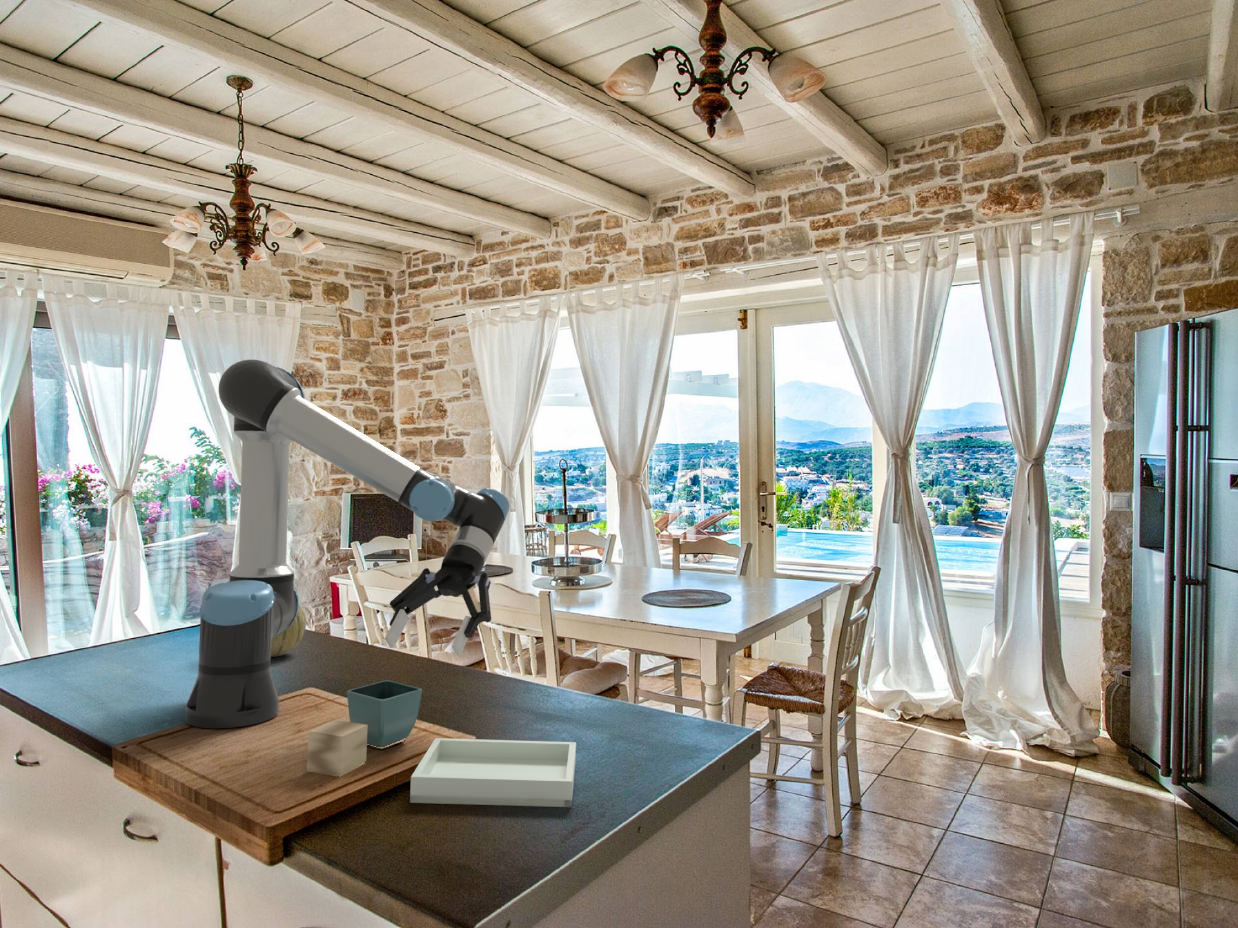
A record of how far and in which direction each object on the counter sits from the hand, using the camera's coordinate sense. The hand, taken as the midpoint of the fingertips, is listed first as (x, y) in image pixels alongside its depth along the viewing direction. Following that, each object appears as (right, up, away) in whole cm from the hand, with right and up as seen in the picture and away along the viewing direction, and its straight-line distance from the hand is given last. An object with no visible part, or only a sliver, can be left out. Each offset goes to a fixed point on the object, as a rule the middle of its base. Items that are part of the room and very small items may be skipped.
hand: (421, 647), depth 140 cm
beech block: (-8, -13, -21) cm, 26 cm away
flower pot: (-4, -14, -10) cm, 17 cm away
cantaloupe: (-47, -13, +47) cm, 68 cm away
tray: (+17, -14, -24) cm, 33 cm away
